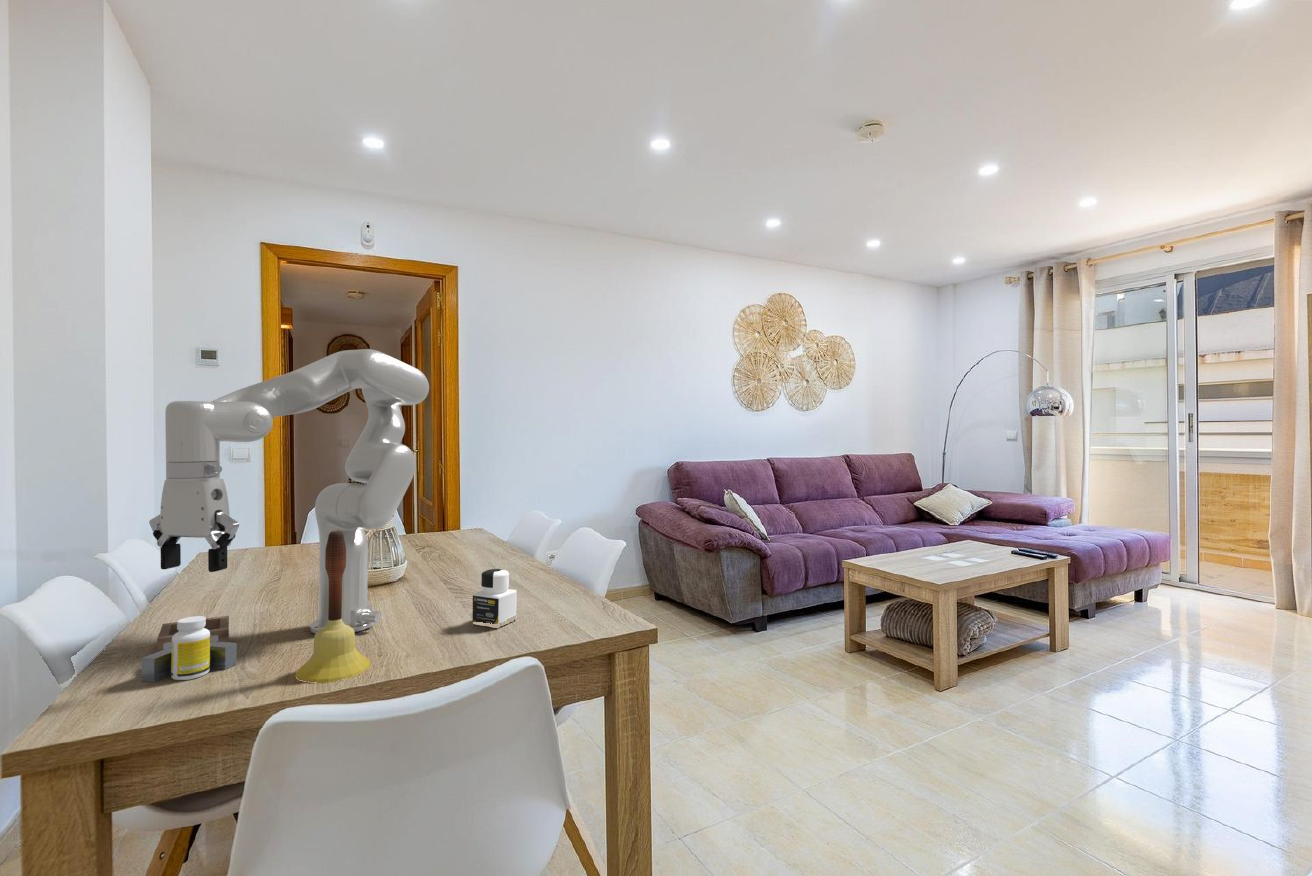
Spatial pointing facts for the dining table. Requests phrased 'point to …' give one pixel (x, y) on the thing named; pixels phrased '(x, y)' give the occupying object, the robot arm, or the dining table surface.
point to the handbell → (334, 628)
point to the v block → (160, 662)
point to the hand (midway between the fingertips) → (194, 569)
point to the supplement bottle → (190, 649)
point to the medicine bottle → (494, 598)
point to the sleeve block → (212, 624)
